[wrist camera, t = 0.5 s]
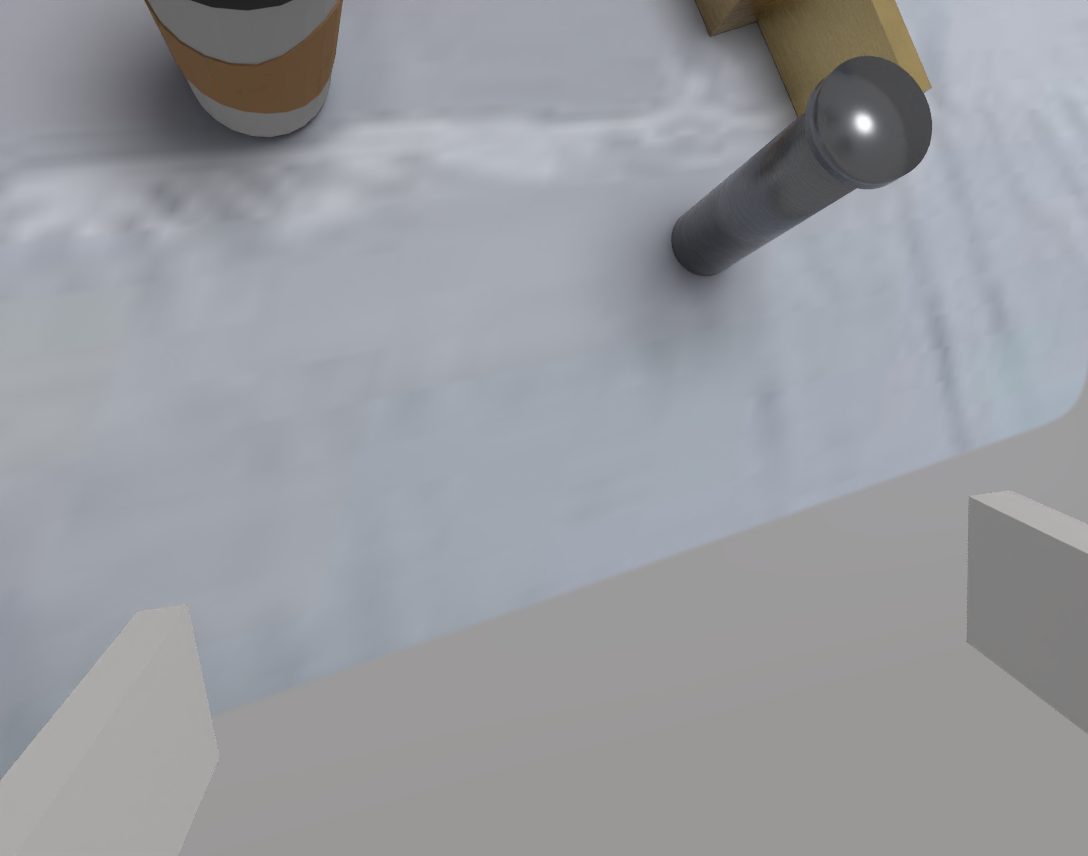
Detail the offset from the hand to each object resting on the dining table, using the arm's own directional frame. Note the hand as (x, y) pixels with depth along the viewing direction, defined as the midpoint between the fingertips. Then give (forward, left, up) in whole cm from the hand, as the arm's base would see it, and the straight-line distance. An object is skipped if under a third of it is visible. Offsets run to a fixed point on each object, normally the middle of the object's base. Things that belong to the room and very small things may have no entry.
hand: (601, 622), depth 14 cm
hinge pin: (-9, +20, -27) cm, 35 cm away
